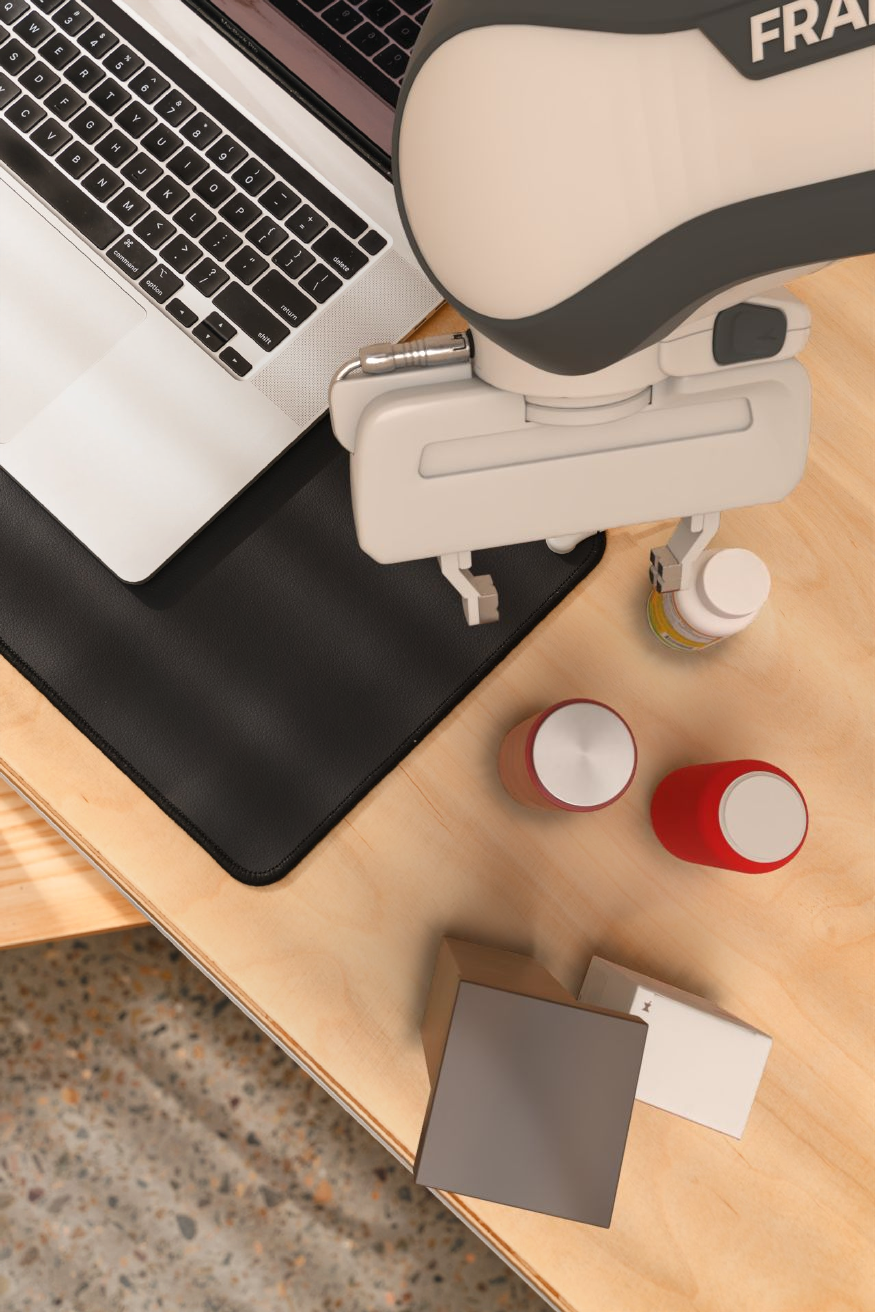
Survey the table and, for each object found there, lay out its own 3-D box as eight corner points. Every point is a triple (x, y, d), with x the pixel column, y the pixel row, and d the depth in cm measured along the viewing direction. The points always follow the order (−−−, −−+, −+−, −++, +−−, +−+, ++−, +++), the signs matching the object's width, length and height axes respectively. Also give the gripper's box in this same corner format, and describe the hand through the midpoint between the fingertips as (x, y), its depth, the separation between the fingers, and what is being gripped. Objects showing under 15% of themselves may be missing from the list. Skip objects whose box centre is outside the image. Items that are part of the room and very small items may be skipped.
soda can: (597, 729, 64) (651, 711, 51) (578, 819, 63) (628, 824, 50) (508, 707, 64) (540, 684, 51) (488, 798, 63) (515, 797, 50)
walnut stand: (553, 945, 62) (649, 1024, 40) (526, 1075, 60) (609, 1230, 39) (430, 916, 61) (459, 979, 40) (400, 1046, 60) (413, 1185, 38)
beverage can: (671, 878, 63) (739, 896, 51) (629, 789, 63) (687, 786, 51) (754, 838, 63) (841, 847, 51) (712, 750, 64) (788, 739, 52)
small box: (561, 1038, 61) (599, 1088, 50) (592, 952, 62) (635, 983, 51) (680, 1086, 61) (743, 1145, 50) (709, 999, 62) (777, 1039, 51)
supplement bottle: (709, 564, 66) (765, 524, 56) (735, 639, 65) (796, 612, 56) (634, 585, 65) (678, 548, 56) (659, 662, 65) (709, 638, 55)
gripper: (326, 381, 36) (372, 675, 44) (853, 306, 38) (801, 603, 46) (315, 326, 41) (358, 600, 49) (780, 263, 43) (746, 538, 51)
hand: (575, 601), depth 48 cm, fingers open, 8 cm apart
